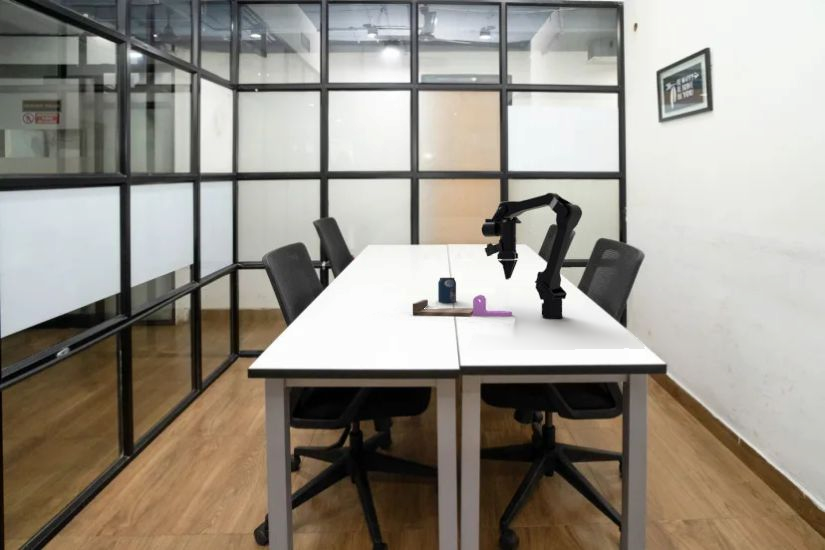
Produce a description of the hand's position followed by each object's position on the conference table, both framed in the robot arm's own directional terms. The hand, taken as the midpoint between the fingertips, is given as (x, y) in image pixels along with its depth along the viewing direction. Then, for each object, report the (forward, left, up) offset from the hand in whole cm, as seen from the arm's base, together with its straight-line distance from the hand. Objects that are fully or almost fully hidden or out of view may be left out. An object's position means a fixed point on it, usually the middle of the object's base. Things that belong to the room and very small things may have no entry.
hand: (508, 278), depth 213 cm
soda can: (+24, -7, -12) cm, 28 cm away
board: (+21, +10, -12) cm, 27 cm away
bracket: (+4, +13, -12) cm, 19 cm away
